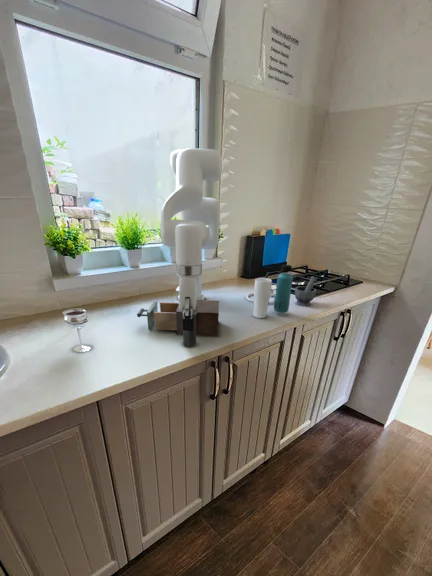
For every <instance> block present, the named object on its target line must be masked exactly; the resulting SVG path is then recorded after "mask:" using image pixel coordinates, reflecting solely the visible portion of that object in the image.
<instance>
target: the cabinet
mask: <svg viewBox="0 0 432 576" xmlns="http://www.w3.org/2000/svg"><path fill="white" fill-rule="evenodd" d="M196 307H197V314H196V337H216V338H217V337H218V336H219V315H220V313H219V312H220V310H219V309H220V300H217V299H216V300H214V299H213V300H212V299H204V300H197V303H196ZM176 325H177V330H176V336H183V315H182V313H181V310H180V309H179V305H178V308H177V311H176Z"/></svg>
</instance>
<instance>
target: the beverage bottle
mask: <svg viewBox="0 0 432 576" xmlns="http://www.w3.org/2000/svg"><path fill="white" fill-rule="evenodd" d="M280 271H281V273H279V274H278V275H277V279H276V284H275V285H276V290H275V293H274V294H275V296H274V300H273V301H275V302H274V304H273V311H274V312H277V313H281V314H283V313H287V312H289V309H290V302H291V294H292V287H293V279H294V276H293V275H292V274H291V273H290V272H292V271H293V266H292V265H291V264H281V268H280Z"/></svg>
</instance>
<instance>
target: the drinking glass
mask: <svg viewBox="0 0 432 576" xmlns="http://www.w3.org/2000/svg"><path fill="white" fill-rule="evenodd" d="M272 285H273V280H272V279H271V278H268V277H257V278H255V279H254V285H253V286H254V287H253V293H254V295H253V300H254V302H253V314H252V315H253V317H254V318H256V319H264V318H266V317H267V312H268V308H269V304H268V303H269V302H270V298H271V296H270V293H271V287H272Z"/></svg>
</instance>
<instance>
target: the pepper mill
mask: <svg viewBox="0 0 432 576" xmlns="http://www.w3.org/2000/svg"><path fill="white" fill-rule="evenodd" d="M183 309H184V308H183ZM189 312H190V313H191V311H189ZM181 313H182V315H183V310H181ZM196 314H197V307H195V310H194V311H193V315H192V318H193V331H184V330H183V335H182V345H183V346H184V347H186V348H193V347H196V346H197V336H196Z"/></svg>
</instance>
